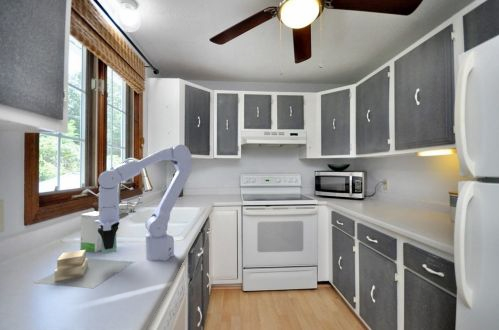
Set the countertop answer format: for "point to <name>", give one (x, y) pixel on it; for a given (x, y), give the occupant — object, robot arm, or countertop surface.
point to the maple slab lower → (71, 272)
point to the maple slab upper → (71, 259)
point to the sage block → (109, 249)
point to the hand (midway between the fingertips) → (109, 246)
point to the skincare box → (90, 232)
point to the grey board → (90, 274)
